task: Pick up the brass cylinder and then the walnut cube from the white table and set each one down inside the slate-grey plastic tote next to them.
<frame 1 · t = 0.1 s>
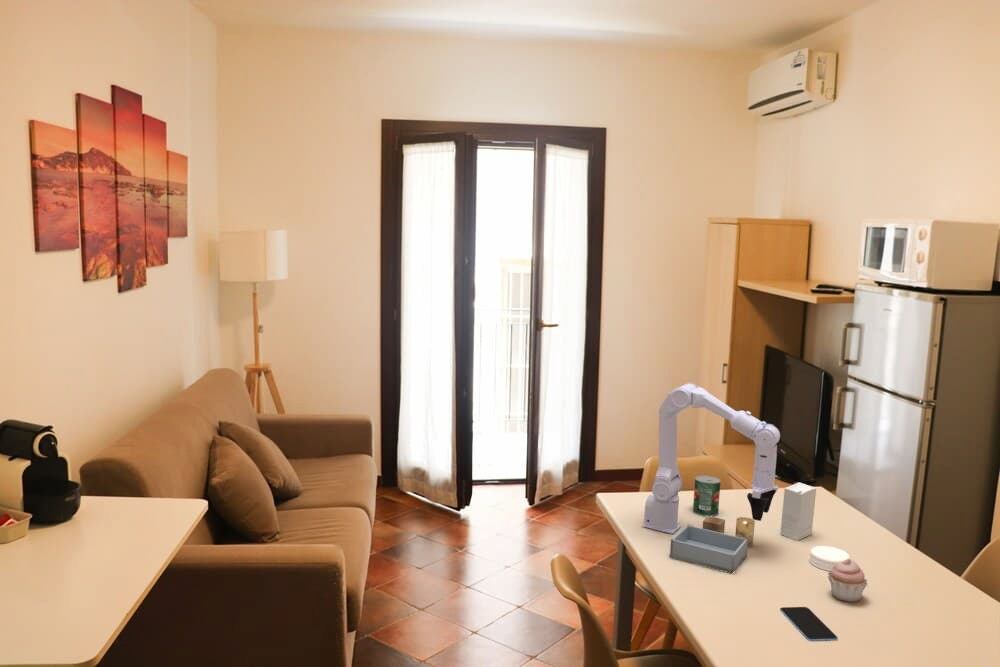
hand: (760, 515, 224), 10 cm above the table, tool pointing down, fingers open, 7 cm apart
skincare box: (796, 535, 237), on the table
brass cylinder: (743, 543, 229), on the table
canned tomato: (705, 512, 253), on the table
walnut cube: (712, 536, 234), on the table
white round disc: (828, 565, 217), on the table
cupcake: (845, 597, 198), on the table
tote: (708, 556, 219), on the table
smartphone: (807, 626, 184), on the table
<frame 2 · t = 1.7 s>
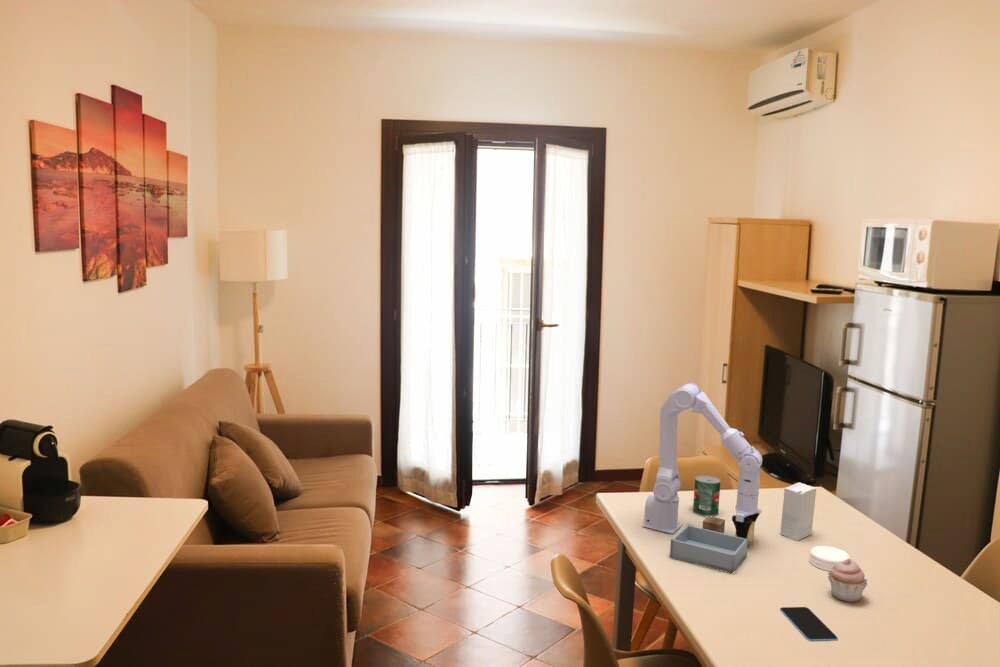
hand: (744, 538, 229), 2 cm above the table, tool pointing down, fingers closed on brass cylinder, 5 cm apart
brass cylinder: (743, 543, 229), on the table, touching gripper
everything else where it was.
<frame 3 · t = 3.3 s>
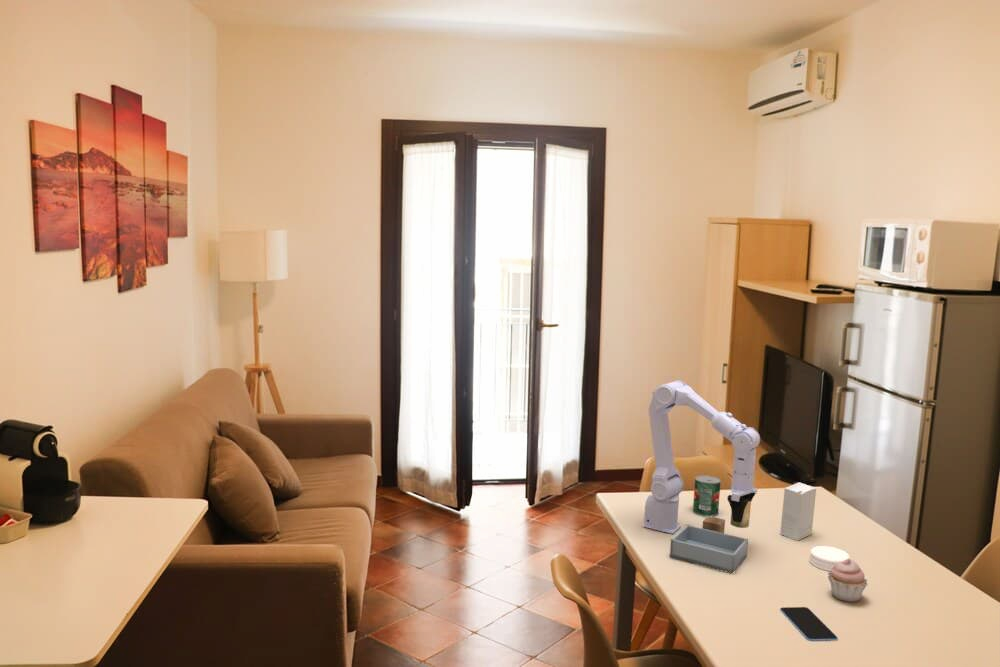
hand: (739, 518, 224), 9 cm above the table, tool pointing down, fingers closed on brass cylinder, 5 cm apart
brass cylinder: (739, 524, 224), point 7 cm above the table, touching gripper
everything else where it was.
when the fingers open (5 cm above the table, at t = 5.2 s): brass cylinder drops 2 cm, resting on tote.
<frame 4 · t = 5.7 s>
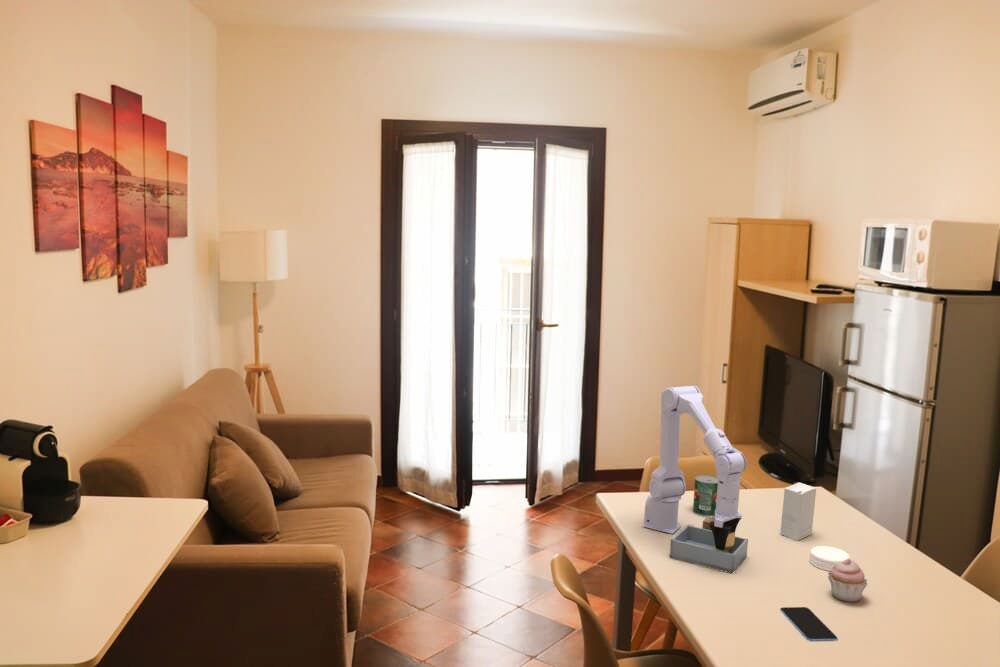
hand: (724, 544, 216), 5 cm above the table, tool pointing down, fingers open, 7 cm apart
brass cylinder: (723, 557, 217), point 1 cm above the table, touching tote
everything else where it was.
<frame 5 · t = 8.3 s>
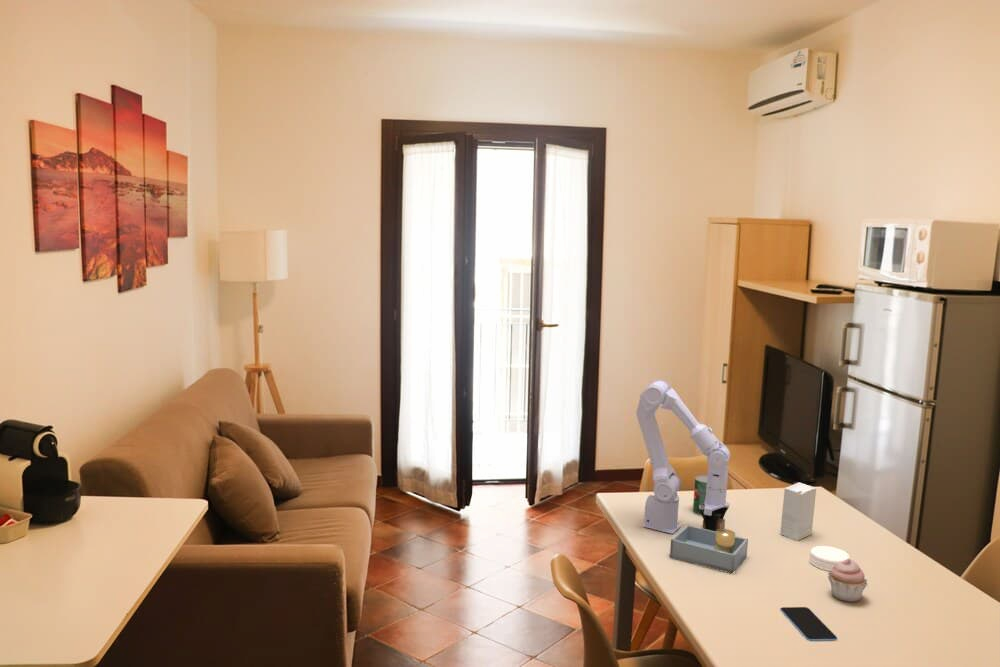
hand: (713, 531, 233), 1 cm above the table, tool pointing down, fingers closed on walnut cube, 5 cm apart
walnut cube: (712, 536, 234), on the table, touching gripper
everything else where it was.
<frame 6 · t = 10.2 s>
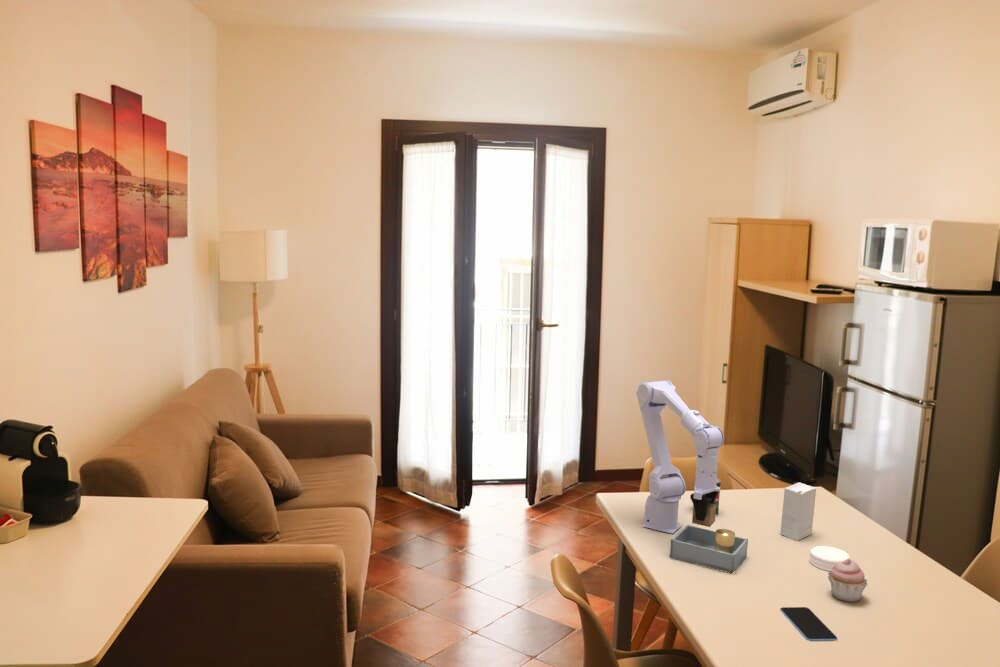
hand: (703, 517, 224), 9 cm above the table, tool pointing down, fingers closed on walnut cube, 5 cm apart
walnut cube: (703, 522, 224), point 7 cm above the table, touching gripper
everything else where it was.
when the fingers open (4 cm above the table, at t = 11.9 s): walnut cube drops 2 cm, resting on tote.
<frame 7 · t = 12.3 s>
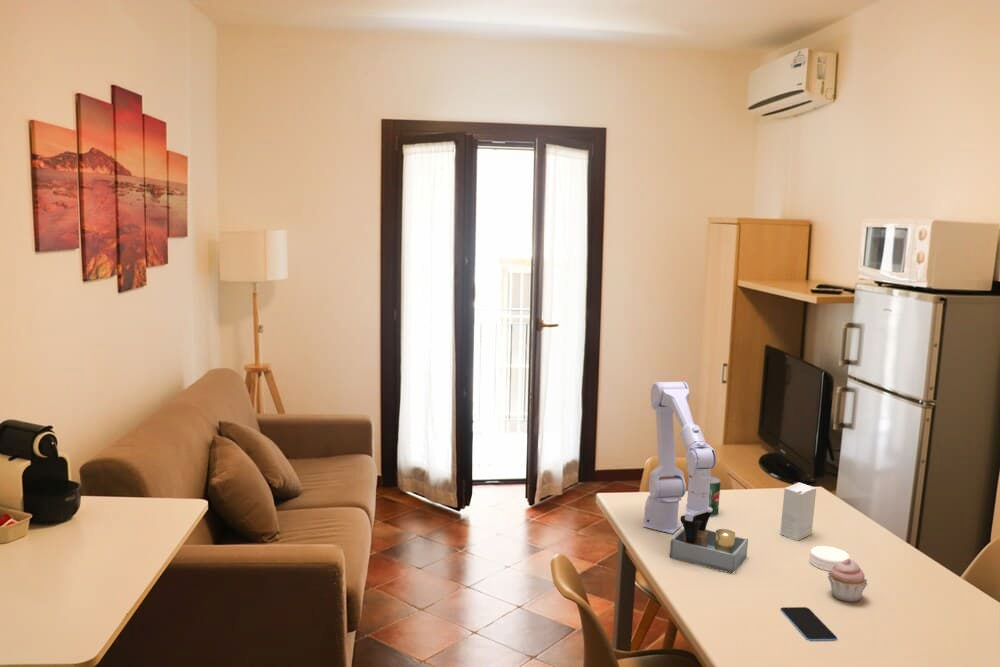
hand: (695, 538, 220), 4 cm above the table, tool pointing down, fingers open, 7 cm apart
walnut cube: (695, 550, 221), point 1 cm above the table, touching tote
everything else where it was.
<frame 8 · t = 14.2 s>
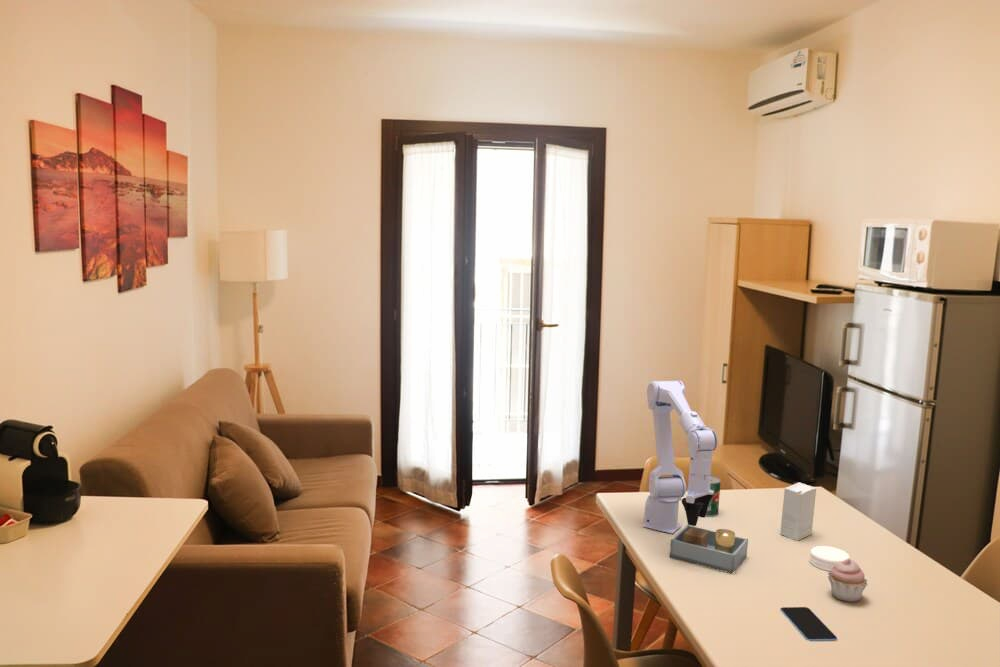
hand: (696, 520, 220), 9 cm above the table, tool pointing down, fingers open, 7 cm apart
nothing on the table moved.
at the end: brass cylinder inside the target area on the tote (4.1 cm from its centre), point 1.0 cm above the tote's base; walnut cube inside the target area on the tote (3.8 cm from its centre), point 1.0 cm above the tote's base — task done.
